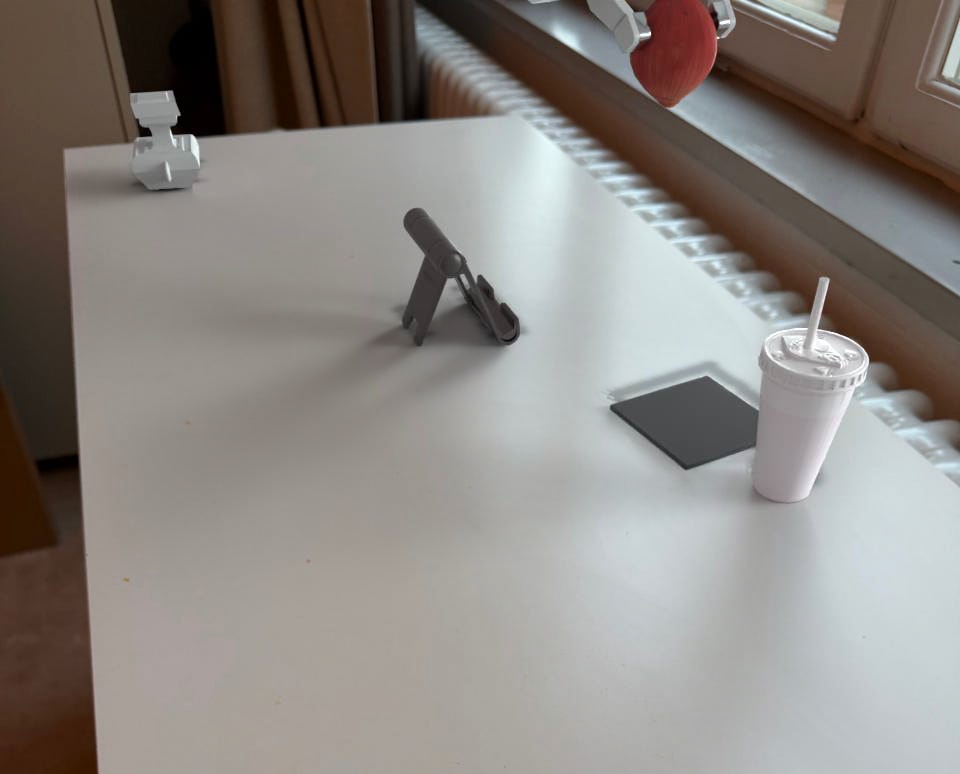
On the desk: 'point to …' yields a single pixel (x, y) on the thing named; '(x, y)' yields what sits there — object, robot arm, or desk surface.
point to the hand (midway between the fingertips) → (681, 40)
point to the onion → (675, 50)
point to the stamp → (162, 144)
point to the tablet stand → (434, 273)
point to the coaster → (693, 421)
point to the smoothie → (802, 403)
